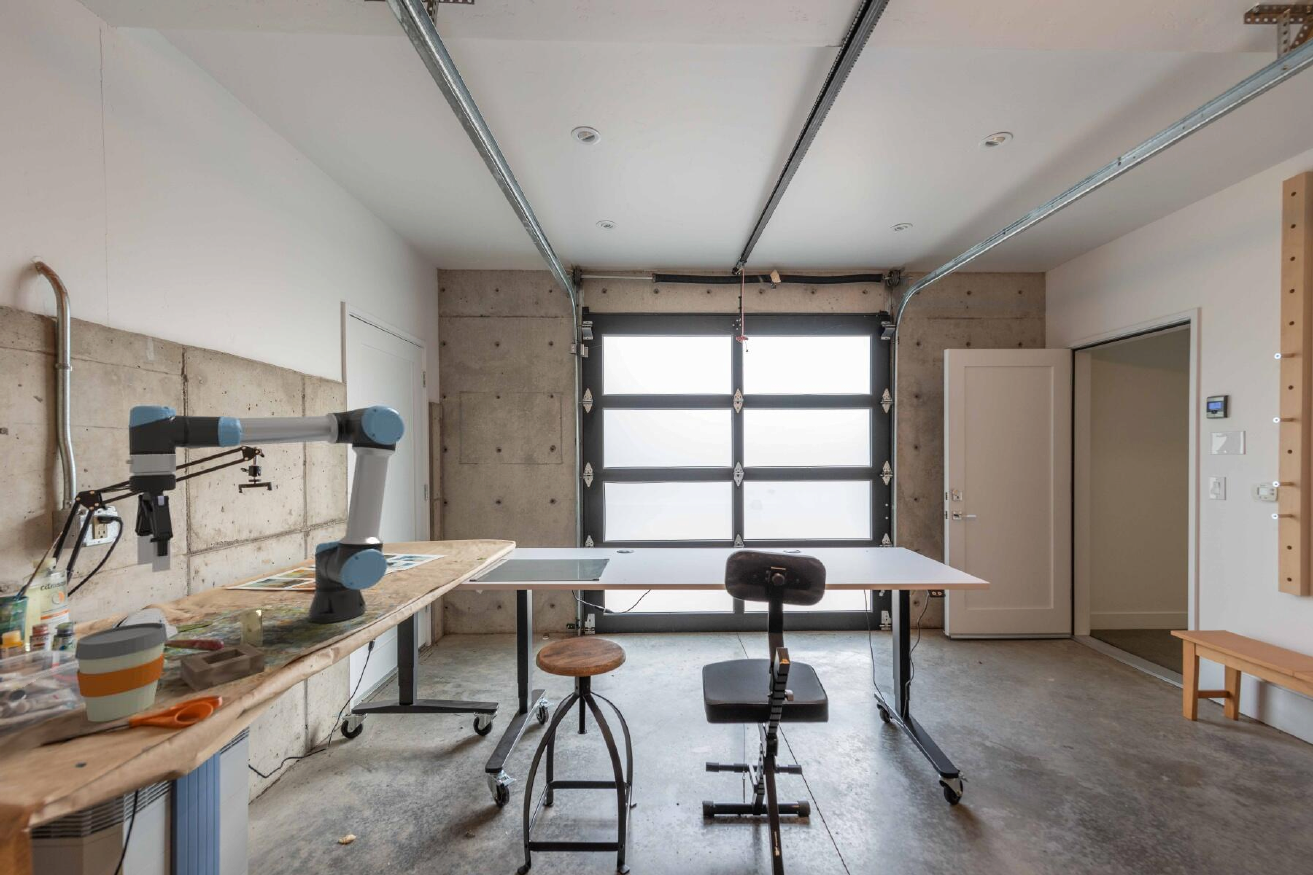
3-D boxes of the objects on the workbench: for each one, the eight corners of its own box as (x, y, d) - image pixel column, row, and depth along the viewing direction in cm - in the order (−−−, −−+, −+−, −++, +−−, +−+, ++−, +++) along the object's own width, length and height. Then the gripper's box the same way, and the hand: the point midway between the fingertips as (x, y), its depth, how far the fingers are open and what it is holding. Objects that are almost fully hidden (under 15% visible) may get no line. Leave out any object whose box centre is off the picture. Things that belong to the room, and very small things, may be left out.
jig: (246, 659, 124) (246, 642, 124) (264, 670, 117) (264, 653, 117) (180, 677, 114) (180, 659, 114) (195, 691, 107) (196, 672, 107)
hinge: (140, 654, 128) (124, 618, 127) (117, 663, 126) (101, 626, 126) (179, 632, 144) (164, 599, 143) (159, 639, 142) (144, 607, 141)
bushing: (258, 641, 136) (259, 607, 136) (264, 644, 133) (265, 610, 133) (238, 646, 132) (238, 611, 132) (244, 650, 130) (244, 614, 130)
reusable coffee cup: (161, 688, 108) (162, 618, 109) (171, 706, 100) (172, 630, 101) (72, 712, 99) (73, 635, 99) (74, 734, 91) (76, 650, 91)
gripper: (117, 474, 119) (117, 564, 119) (143, 475, 105) (143, 578, 105) (161, 472, 125) (161, 558, 125) (191, 473, 111) (191, 570, 111)
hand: (153, 567), depth 115 cm, fingers open, 13 cm apart
